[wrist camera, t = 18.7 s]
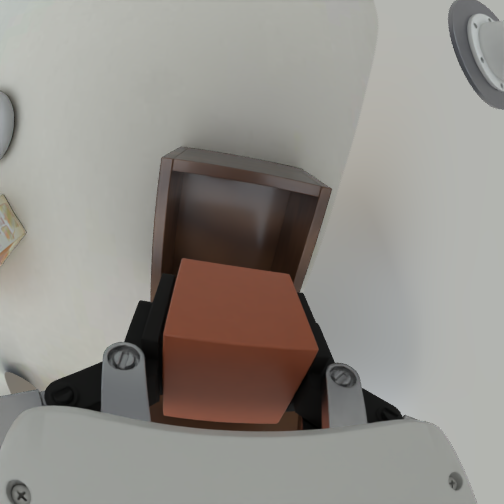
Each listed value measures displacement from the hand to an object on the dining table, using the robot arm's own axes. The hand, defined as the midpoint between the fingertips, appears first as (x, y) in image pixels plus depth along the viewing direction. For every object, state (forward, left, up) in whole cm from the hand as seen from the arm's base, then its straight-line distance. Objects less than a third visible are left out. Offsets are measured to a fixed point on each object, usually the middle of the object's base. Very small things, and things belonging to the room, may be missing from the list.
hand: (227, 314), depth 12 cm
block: (0, 0, 0) cm, 0 cm away
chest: (+2, +3, -19) cm, 20 cm away
